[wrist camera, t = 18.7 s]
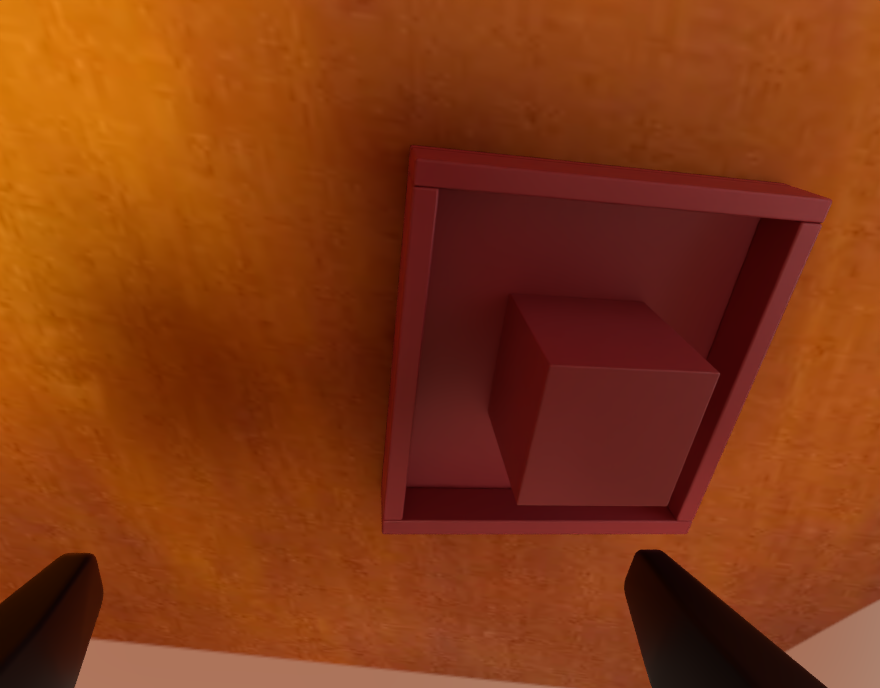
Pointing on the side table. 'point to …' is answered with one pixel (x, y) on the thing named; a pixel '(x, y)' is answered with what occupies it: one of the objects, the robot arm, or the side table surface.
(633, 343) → the burgundy block
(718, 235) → the burgundy tray
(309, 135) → the side table surface
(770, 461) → the side table surface
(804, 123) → the side table surface
